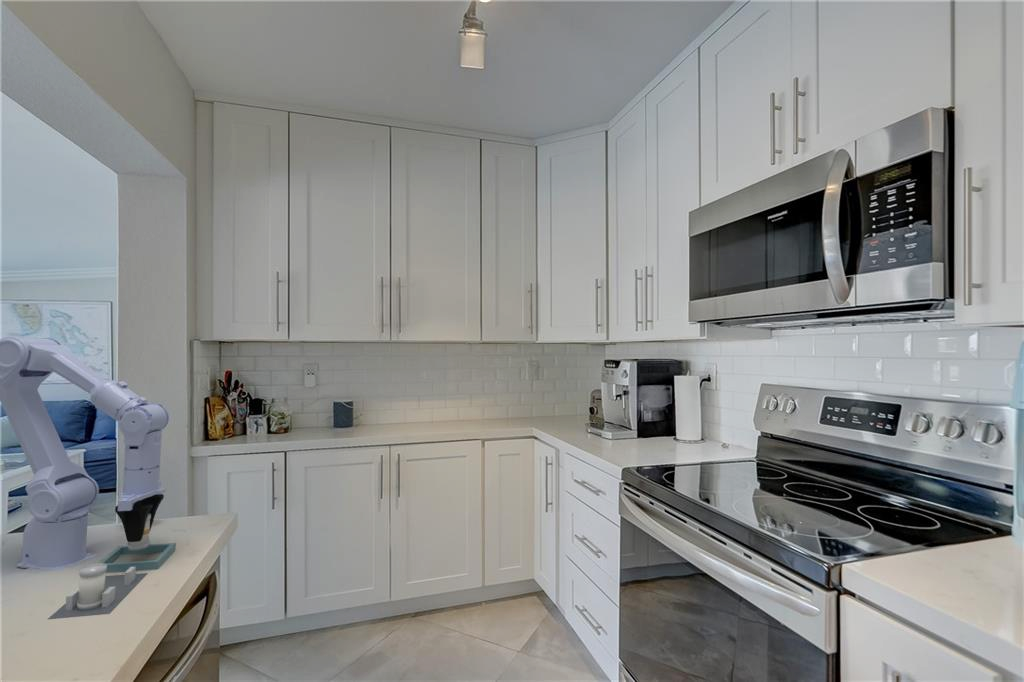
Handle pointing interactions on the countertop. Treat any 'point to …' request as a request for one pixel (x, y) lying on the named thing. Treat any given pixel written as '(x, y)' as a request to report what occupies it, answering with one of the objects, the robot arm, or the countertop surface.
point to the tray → (140, 565)
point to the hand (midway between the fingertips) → (138, 537)
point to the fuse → (91, 586)
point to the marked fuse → (145, 539)
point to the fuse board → (112, 596)
